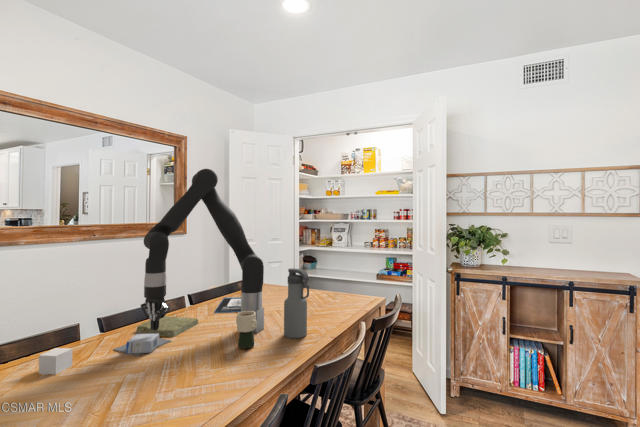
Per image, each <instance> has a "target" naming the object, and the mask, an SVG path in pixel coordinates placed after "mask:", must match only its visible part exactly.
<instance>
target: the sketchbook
mask: <svg viewBox="0 0 640 427" xmlns="http://www.w3.org/2000/svg"><path fill="white" fill-rule="evenodd" d="M234 312H241V296H227V297H226V296H225V297H223V299H222V300H221V301H220V302H219V304H218V305H217V308H216V309H215V310H214V311H213V314H230V313H231V314H235V313H234Z"/></svg>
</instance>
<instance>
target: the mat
mask: <svg viewBox="0 0 640 427" xmlns="http://www.w3.org/2000/svg"><path fill="white" fill-rule="evenodd" d="M171 342H172V340H170V339H167V338H160V337H159V345H158V346H157V347H156V348H159V347H162V346H165V345H166V344H168V343H171ZM126 345H127V343H125V344H123V345H121V346H117V347H114V348H113V351H114V352H119V353H122V354H128V355H132V356H137V357H139V356H140V355H143V354H145V353H127V352H126ZM156 348H155V349H156Z"/></svg>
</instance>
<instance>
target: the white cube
mask: <svg viewBox="0 0 640 427" xmlns="http://www.w3.org/2000/svg"><path fill="white" fill-rule="evenodd" d="M71 366H72V367H73V348H69V347H68V348H67V347H65V348H63V347H54V348H53V349H50V350H48V351H45V352H43V353H40V354H39V355H38V374H39V375H48V374H52V376H53V375H54V376H57V375H58V373H59V374H60V372H61V373H63V372H64V371H66V370H68V369H70V368H72V367H71ZM69 367H70V368H69ZM67 368H68V369H67ZM65 369H66V370H65ZM63 370H64V371H63ZM56 374H57V375H56Z"/></svg>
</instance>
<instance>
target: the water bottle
mask: <svg viewBox="0 0 640 427" xmlns="http://www.w3.org/2000/svg"><path fill="white" fill-rule="evenodd" d="M309 278H310V277H309V274H308V272H307V271H305V269H302V268H295V267H294V268H293V267H292V268H288V276H287V297H286V298H285V300H284V302H283V334H284V337H285V338H288V339H296V340H297V339H303V338H304V337H306V336H307V334H308V301H307V298H308V297H309V296H310V285H308V281H309V280H310V279H309ZM305 288H306V291H307V292H306V295H305V296H304V289H305Z"/></svg>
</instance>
